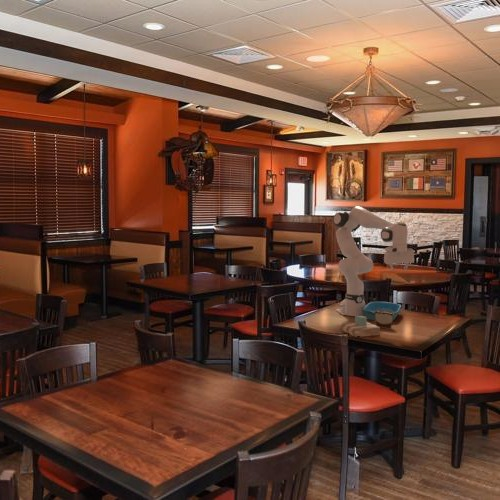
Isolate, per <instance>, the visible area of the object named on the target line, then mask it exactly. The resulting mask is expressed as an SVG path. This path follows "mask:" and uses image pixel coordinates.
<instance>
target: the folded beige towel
mask: <svg viewBox="0 0 500 500" xmlns="http://www.w3.org/2000/svg"><path fill="white" fill-rule="evenodd" d="M341 331H342V332H344V331H345V332H344V333H346V332H347V333H346V334H348V333H349V334H348V335H351V336H353V337H355V338H357V336H360V337H369V336H371V335H372V336H380V333H381V327H378V326H376V324H373V323H371V322H368V321H367V326H357V325H355V321H351V322H349V321H348V322H342V323H341Z"/></svg>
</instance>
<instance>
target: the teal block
mask: <svg viewBox="0 0 500 500" xmlns="http://www.w3.org/2000/svg"><path fill="white" fill-rule="evenodd" d="M354 322H355V325H357V326H367V322H368V319H367V317H366V316H365V315H363V316H354Z"/></svg>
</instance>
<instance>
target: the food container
mask: <svg viewBox="0 0 500 500" xmlns="http://www.w3.org/2000/svg"><path fill="white" fill-rule="evenodd" d="M374 314H375V319H376V321H375V325H376V326H378V327H380V329H381V328H382V329H392V326H393V321H394V320H393V316H394V313H393V312H392V311H389V310H376V311H375V312H374ZM392 320H393V321H392Z"/></svg>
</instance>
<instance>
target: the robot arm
mask: <svg viewBox="0 0 500 500" xmlns="http://www.w3.org/2000/svg"><path fill="white" fill-rule="evenodd" d="M332 223H333V224H334V226H336V227H338V229H336V232H335V237H336V242H337V244H338V246H339V249H340V252H341V254H342V255H343V256H344V257H346V258H341V259H340V260H339V262H338V265H337V266H338V271H339V272H340V273H341V274H342V275H343V276H344V277H345V281H346V293H345V297H344V299H343V300H342V301H341V302H339V303H340V304H339V308H336V312H338V313H339V314H340V315H341V316H349V317H351V316H352V317H355V316H365V313H364V310H363V308H364V307H365V306H366V302H365V294H364V289H365V288H364V286H365V285H364V282H363V280H361V279H360V278H359V276H358V274H366V273H369V272H371V271H373V269H374V262H373V260H372V259H371V258H370V257H368V256H366V255H365V254H364V253H363V252H362V250H360V249H359V248H358V246H357V244H356V241H355V240H354V237H353V235H352V233H355V232H357V230H358V229H360V227H362V228H365V229H375V230H377V229H378V230H381V231H380V238H381V240H382V241H383V242H384V243H392V245H389V246H388V247H385V248H384V250H385V252H384V255H383V256H384V257H383V262H384V264H387V265H388V266H389V268H390V271H395V267H393V265H395V264H404V265H405V266H403V271H407V270H408V267H409V264H412V263H413V264H414V262H415V255H414V254H415V253H414V251H415V250H414V249H413V248H412V247H410V248H408V240H407V239H408V226H407V224H406V223H404V222H399V221H398V222H394V223H392V222H390V221H387V220H385V219H384V218H381V217H380V216H378V215H377V214H374V213H373V212H371V211H369V210H368V209H366V208H364V207H362V206H359V205H358V206H354V207H352V208H351V210H350V212H347V211H339V212H336V213H335V214H334V215H333V218H332Z"/></svg>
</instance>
